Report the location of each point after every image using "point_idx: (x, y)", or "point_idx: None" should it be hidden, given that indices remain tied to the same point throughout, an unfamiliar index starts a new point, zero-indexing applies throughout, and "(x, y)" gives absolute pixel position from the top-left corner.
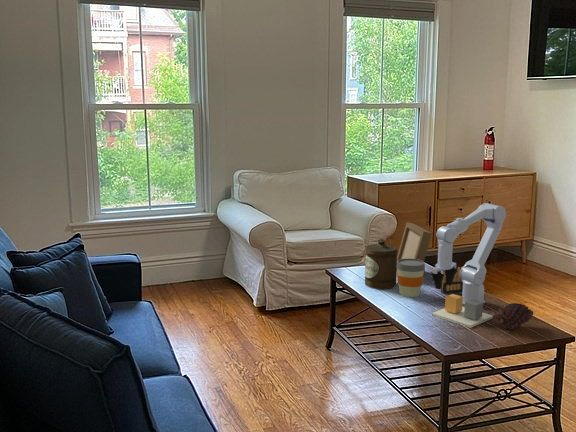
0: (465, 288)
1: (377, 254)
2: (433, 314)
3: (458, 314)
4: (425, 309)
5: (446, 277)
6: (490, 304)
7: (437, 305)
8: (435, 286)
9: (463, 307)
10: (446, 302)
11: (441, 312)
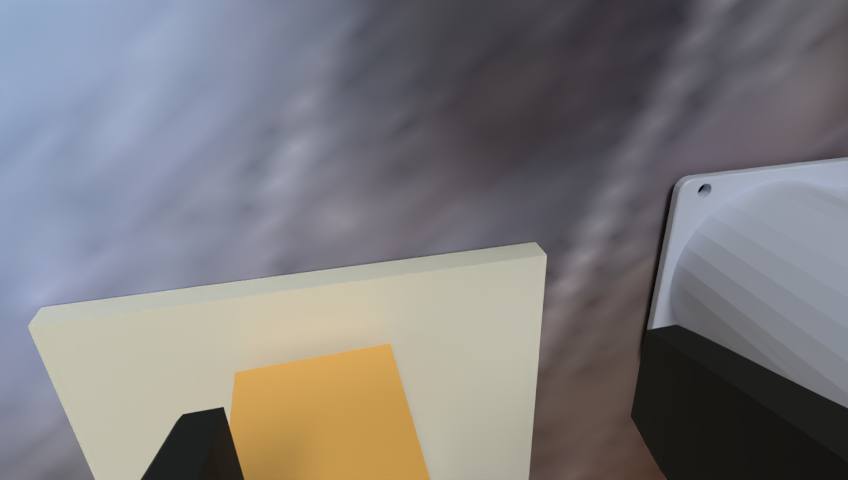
0: (826, 380)
1: None
2: (41, 340)
3: None
4: (123, 97)
5: (803, 463)
6: None
7: (414, 88)
8: (155, 461)
9: (526, 364)
10: None
11: (174, 365)
